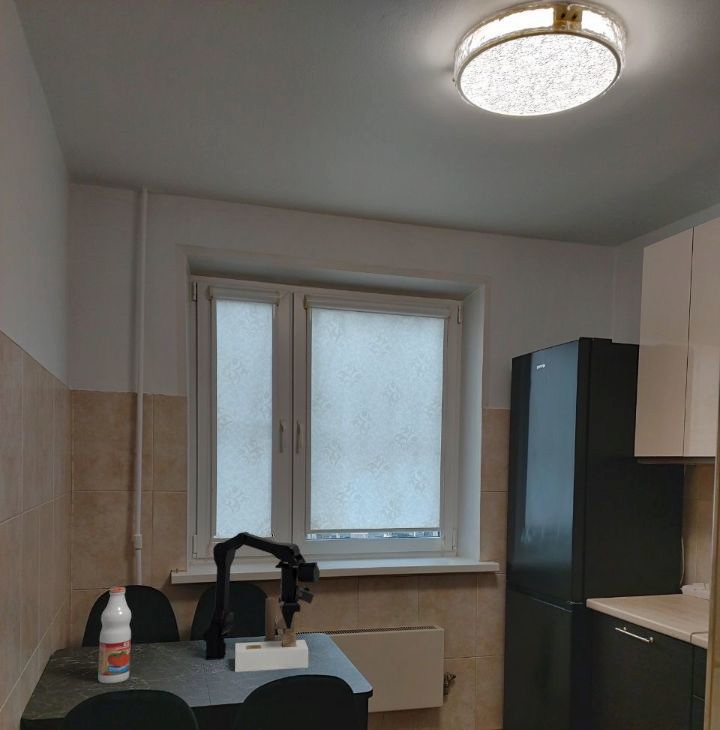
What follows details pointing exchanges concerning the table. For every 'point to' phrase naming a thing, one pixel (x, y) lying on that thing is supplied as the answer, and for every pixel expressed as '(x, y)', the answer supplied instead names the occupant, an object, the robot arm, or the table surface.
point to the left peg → (253, 647)
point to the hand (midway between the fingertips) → (288, 628)
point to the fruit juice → (115, 639)
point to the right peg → (288, 639)
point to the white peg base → (270, 656)
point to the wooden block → (270, 622)
